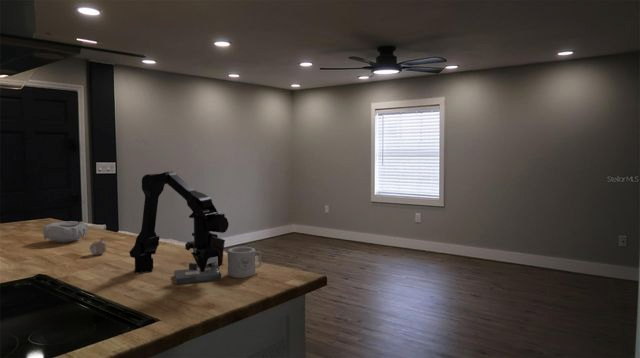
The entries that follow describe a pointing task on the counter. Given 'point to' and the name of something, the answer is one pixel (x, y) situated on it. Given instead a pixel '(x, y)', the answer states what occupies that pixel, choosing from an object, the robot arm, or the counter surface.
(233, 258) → the mug
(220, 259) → the coffee mug
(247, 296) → the counter surface
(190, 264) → the cable arm
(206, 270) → the chassis
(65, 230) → the bowl
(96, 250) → the garlic bulb
